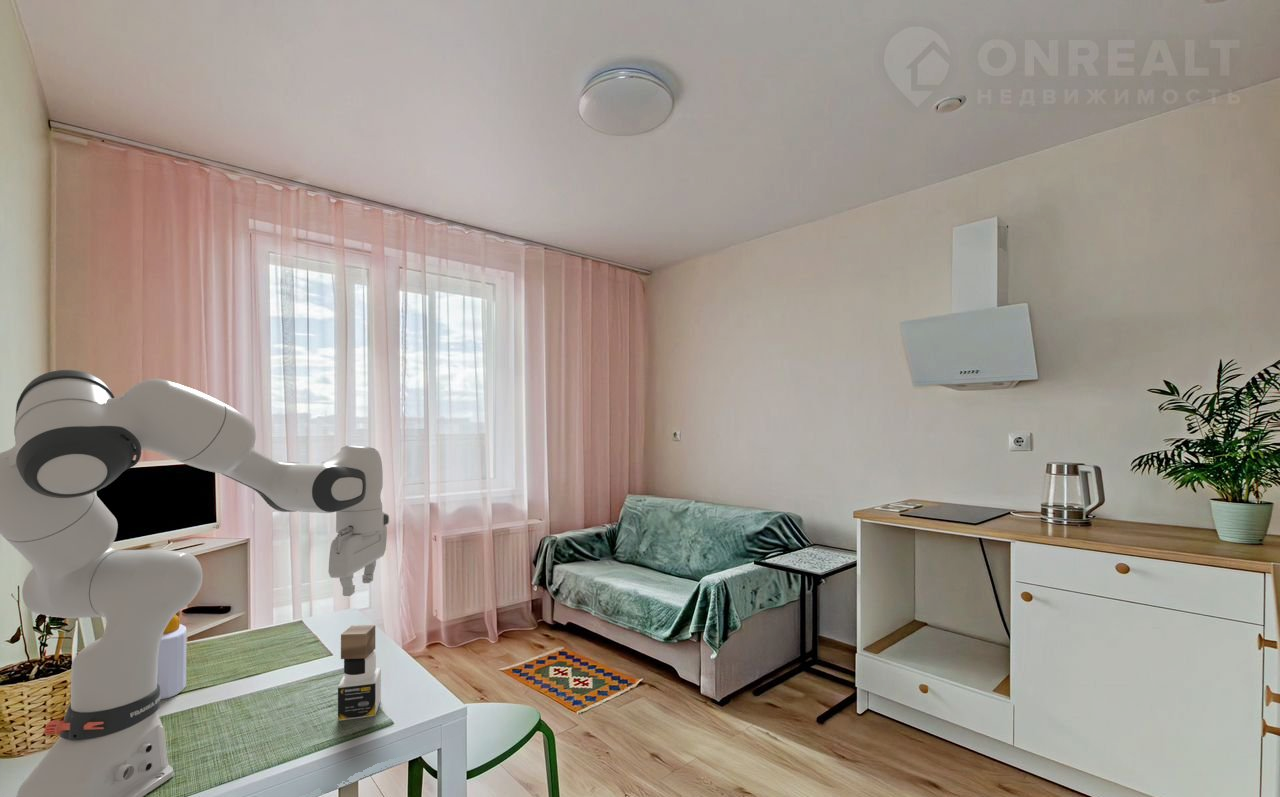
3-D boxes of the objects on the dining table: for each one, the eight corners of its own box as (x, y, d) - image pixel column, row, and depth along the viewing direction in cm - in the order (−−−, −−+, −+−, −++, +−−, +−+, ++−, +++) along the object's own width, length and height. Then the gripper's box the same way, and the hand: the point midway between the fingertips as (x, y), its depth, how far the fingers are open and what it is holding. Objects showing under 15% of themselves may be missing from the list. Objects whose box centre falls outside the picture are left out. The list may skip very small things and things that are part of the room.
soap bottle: (191, 692, 132) (192, 601, 132) (143, 705, 126) (144, 610, 126) (180, 674, 141) (181, 589, 141) (135, 686, 135) (136, 597, 135)
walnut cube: (365, 658, 120) (365, 633, 121) (340, 659, 120) (340, 634, 120) (375, 648, 125) (375, 625, 126) (351, 649, 125) (351, 625, 125)
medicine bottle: (337, 721, 119) (337, 662, 119) (345, 704, 125) (345, 648, 126) (375, 716, 120) (375, 657, 121) (381, 700, 127) (381, 644, 128)
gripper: (353, 531, 114) (352, 603, 113) (392, 514, 134) (391, 575, 133) (320, 531, 113) (318, 604, 113) (364, 515, 134) (363, 576, 133)
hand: (358, 588), depth 123 cm, fingers open, 8 cm apart
